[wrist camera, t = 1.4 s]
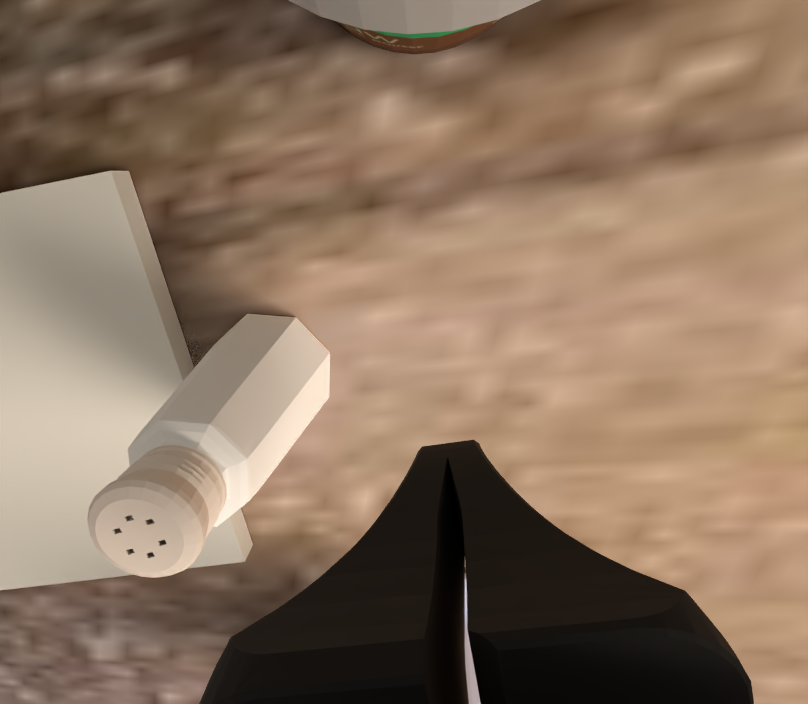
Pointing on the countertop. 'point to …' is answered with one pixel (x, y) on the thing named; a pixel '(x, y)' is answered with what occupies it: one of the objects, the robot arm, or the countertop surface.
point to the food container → (414, 20)
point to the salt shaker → (211, 445)
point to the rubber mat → (80, 372)
